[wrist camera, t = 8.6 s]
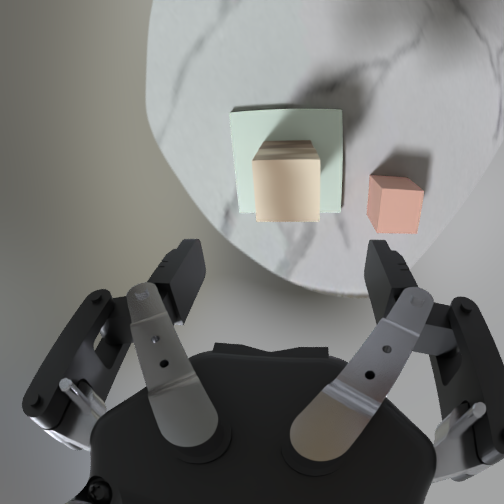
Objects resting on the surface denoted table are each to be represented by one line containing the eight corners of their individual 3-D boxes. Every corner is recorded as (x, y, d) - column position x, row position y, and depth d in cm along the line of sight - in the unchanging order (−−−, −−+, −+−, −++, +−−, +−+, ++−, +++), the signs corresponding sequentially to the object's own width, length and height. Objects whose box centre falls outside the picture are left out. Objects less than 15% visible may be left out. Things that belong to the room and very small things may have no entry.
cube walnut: (310, 140, 27) (314, 148, 23) (311, 183, 30) (314, 199, 25) (263, 141, 28) (258, 149, 24) (266, 184, 30) (262, 199, 26)
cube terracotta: (407, 177, 28) (424, 191, 24) (402, 215, 31) (416, 233, 26) (369, 174, 29) (381, 188, 25) (366, 213, 31) (376, 232, 27)
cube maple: (314, 147, 23) (320, 159, 19) (315, 199, 25) (319, 221, 21) (259, 148, 24) (251, 160, 19) (262, 199, 26) (256, 221, 22)
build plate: (340, 109, 25) (342, 109, 25) (339, 210, 32) (340, 212, 31) (230, 112, 27) (228, 112, 27) (240, 210, 33) (239, 213, 33)
